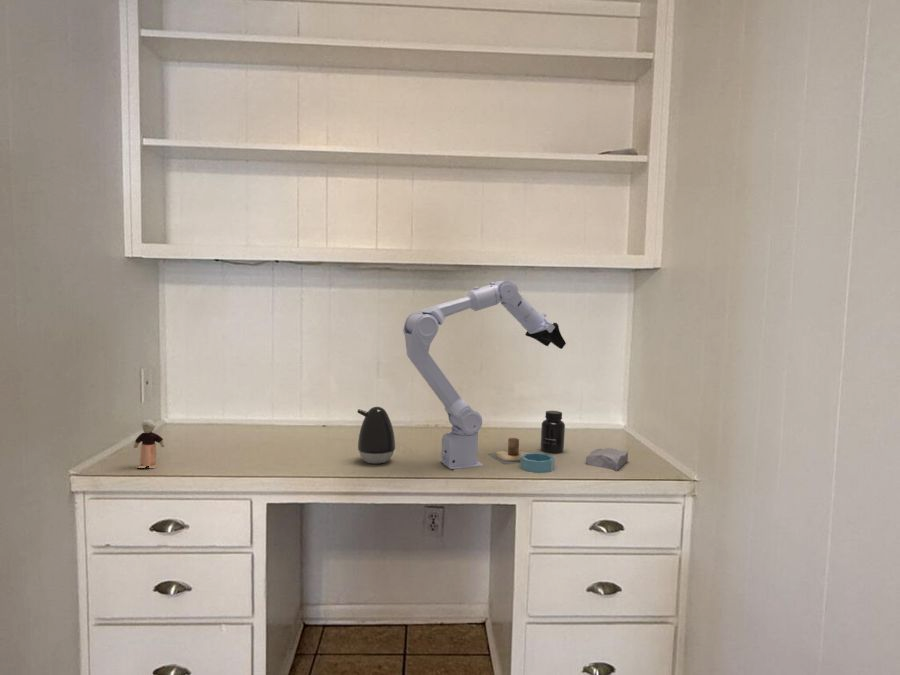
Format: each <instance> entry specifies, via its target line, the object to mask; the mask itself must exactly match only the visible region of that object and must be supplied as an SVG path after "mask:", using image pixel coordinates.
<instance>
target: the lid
mask: <svg viewBox="0 0 900 675" xmlns="http://www.w3.org/2000/svg"><path fill="white" fill-rule="evenodd" d="M507 442H508V443H507V444H508V445H507V449H505V450H500V451H497V452H495V453H496V457H497V458H498V459H500V460H503V461H508V462H520V457H521V456H522V455H523V454H527V453H528V452H526V451H522V450H520V447H519V446H520V439H519V438H517V437H510V438H509V437H508V441H507Z"/></svg>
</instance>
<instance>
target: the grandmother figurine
mask: <svg viewBox="0 0 900 675" xmlns="http://www.w3.org/2000/svg"><path fill="white" fill-rule="evenodd" d="M141 426H142V431H143V432H142V433H140V434H139V435H138V436H137V437H136V439H135V442H134V444H133V446H132V447H133V448H134V449H137V448H138V447H139V445H140V443H141V442H142V443H141V445H140V459H139V460H140V461H139V465H138V466H155V465H157V445H156V443H158V444H159V445H160V447H161V448H165V446H166V444H165V442H164V438H162V437H161V435H159V434H157V433H154V432H153V431H154V429H155V428H157V425H156V423H155V421H153V420H152V419H151V418H149V419H144V420H143V421H142V422H141Z"/></svg>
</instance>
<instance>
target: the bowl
mask: <svg viewBox="0 0 900 675" xmlns="http://www.w3.org/2000/svg"><path fill="white" fill-rule="evenodd" d="M519 468H521V469H522V470H524V471H525V472H531V473H537V474H539V473H540V474H542V473H551V472H552V471H553V470H554V469H555V457H554V456H552V455H551V454H549V453H540V452H531V453H529V452H527V454H523V455H522V456H521V457H520V463H519Z"/></svg>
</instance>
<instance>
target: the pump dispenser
mask: <svg viewBox="0 0 900 675" xmlns="http://www.w3.org/2000/svg"><path fill="white" fill-rule="evenodd" d="M357 413H358V414H360V415H362V416H363V417H364V419H363V420H362V423H361V426H360V430H359V433H358V440H357V450H358V453H359V456H360V457H361V459H362V460H363V461H364V462H365V463H368V464H372V465H380V464H381V463H382V464H384V463H386V462H388V461H390V459H392V458H393V455H394V451H395V450H396V439H395V432H394V427H393V424H392V422H391V419H390V417H389V414H388V412H387V411H386V410H385V409H384V408H383V407H381V406H373V407H371V408H370V409H368V411H366V410H362V409H357Z"/></svg>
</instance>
